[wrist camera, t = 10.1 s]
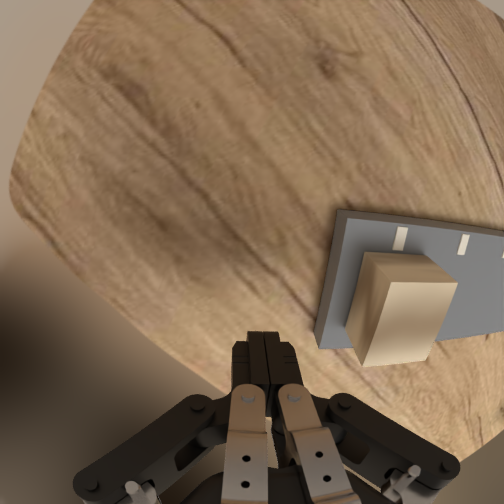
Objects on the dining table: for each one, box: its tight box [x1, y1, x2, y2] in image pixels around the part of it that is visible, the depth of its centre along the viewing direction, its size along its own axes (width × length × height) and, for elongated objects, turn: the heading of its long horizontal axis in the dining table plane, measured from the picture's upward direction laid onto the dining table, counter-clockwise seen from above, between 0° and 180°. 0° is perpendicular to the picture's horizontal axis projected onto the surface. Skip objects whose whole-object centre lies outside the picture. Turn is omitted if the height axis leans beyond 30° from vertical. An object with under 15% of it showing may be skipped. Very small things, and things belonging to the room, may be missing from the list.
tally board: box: [314, 209, 504, 349], centre depth 22 cm, size 10×26×2 cm, turn 86°
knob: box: [345, 252, 458, 367], centre depth 18 cm, size 6×5×4 cm
